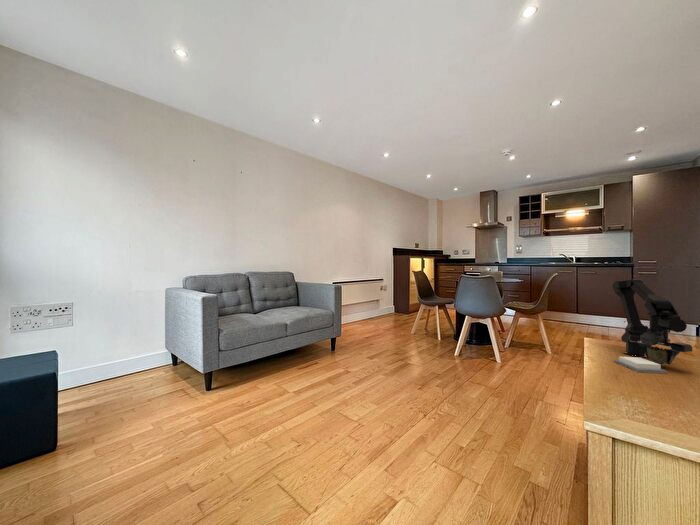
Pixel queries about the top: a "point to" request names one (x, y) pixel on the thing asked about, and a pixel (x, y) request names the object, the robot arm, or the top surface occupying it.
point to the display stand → (640, 365)
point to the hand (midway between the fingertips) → (658, 361)
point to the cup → (657, 355)
